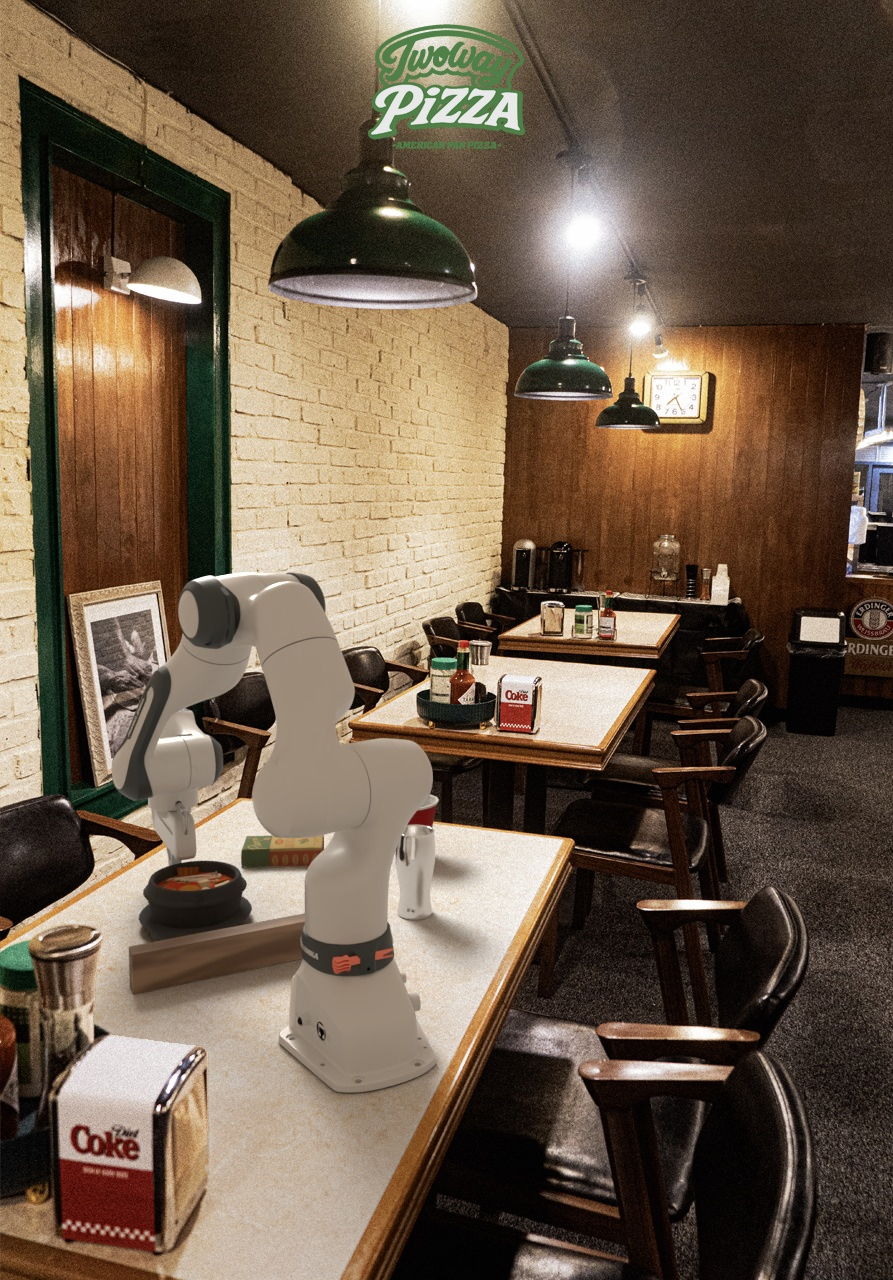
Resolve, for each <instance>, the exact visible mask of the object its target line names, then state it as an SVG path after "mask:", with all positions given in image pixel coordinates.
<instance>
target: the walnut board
mask: <svg viewBox="0 0 893 1280" xmlns="http://www.w3.org/2000/svg"><path fill="white" fill-rule="evenodd" d="M304 924H305V912H304V913H299V914H298V913H297V914H294V915H289V916H282V917H278V918H277V917H276V918H271V919H266V920H261V921H257V922H251V923H246V924H242V925H240V924H239V925H236V926H235V927H229V928H224V929H219V930H213V931H208V932H203V933H198V934H192V935H187V936H182V937H176V938H171V939H166V940H160V941H155V940H154V941H151V942H145V943H140V944H135V945H129V946H128V971H129V972H128V974H129V987H130V989H131V992H132V994H133V995H137V994H143V993H147V992H151V991H157V990H160V989H166V988H171V987H175V986H180V985H184V984H189V983H193V982H195V983H196V982H199V981H204V980H208V979H214V978H218V977H222V976H227V975H232V974H236V973H242V972H246V971H250V970H255V969H260V968H265V967H270V966H273V965H274V966H275V965H278V964H284V963H288V962H292V961H297V960H303V957H302V955H301V935H302V927H303V926H304Z"/></svg>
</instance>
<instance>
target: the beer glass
mask: <svg viewBox="0 0 893 1280" xmlns="http://www.w3.org/2000/svg"><path fill="white" fill-rule="evenodd" d="M435 838H436V837H435V829H434V828H433V827H429V826H426V825H407V826H406V828H405V830H404V832H403V834H402V836H401V838H400V841H399V843H398V846H397V848H396V851H395V854H394V856H395V858H394V859H395V867H396V873H397V881H398V885H399V900H398V901H399V902H398V906H397V914H398V916H399V917H401V918H402V919H406V920H409V921H420V920H426V919H427V918H430V917H431V916H432V914H433V908H432V903H431V902H432V901H431V887H432V881H433V877H434V876H433V875H434V871H435V867H436V866H435V865H436V839H435Z"/></svg>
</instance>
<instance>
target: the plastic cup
mask: <svg viewBox="0 0 893 1280" xmlns="http://www.w3.org/2000/svg"><path fill="white" fill-rule="evenodd" d="M439 800H440V799H439V798H438V796H435V795H433V794H430V795H429V797H428V799H427V800H426V802H425V803H424V804H423V805H422V806H421V807H420V808H419V809H418V810H417V811H416V813H415V814H414V815H413V817H412V818H411V819H410V821H409V823H408V824H407V825H426V826H429V827H432V828H433V827H434V822H435V821H434V819H435V815H436V811H437V805H438V803H439Z"/></svg>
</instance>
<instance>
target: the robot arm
mask: <svg viewBox="0 0 893 1280" xmlns="http://www.w3.org/2000/svg"><path fill="white" fill-rule="evenodd" d="M178 597H179V598H178V604H177V615H178V621H179V622H178V623H179V627H180V629H181V630H180V631H182V634H181V639H180V643H179V645H178V646H177V648H176V650H175V651H174V653H173V654H172V655H171V657H170V658H168V660H167V661H166V662H165V663H164V664H163V665H162V666H160V667H159V668H158V669H156V670H155V671H153V673H152V674H151V676H150V678H149V680H148V682H147V684H146V686H145V687H144V688H145V689H144V691H143V693H142V695H141V697H140V700H139V702H138V705H137V708H136V709H135V712H134V715H133V717H132V720H131V722H130V725H129V727H128V729H127V732H126V734H125V737H124V738H123V740H122V741H121V744H120V745H119V746H118V747H117V749H116V751H115V753H114V755H113V757H112V762H111V779H112V782H113V783H112V784H113V786H114V789H115V790H116V791H118V793H119V794H121V795H122V796H125V798H128V799H129V800H131V801H133V802H137V801H143V800H147V801H148V802H147V803H148V805H147V806H148V808H149V809H150V810H151V811H150V812H151V818H152V819H151V820H152V824H153V825H152V826H153V828H154V831H155V832H156V834H157V835H158V836H159V838H160V839H161V840H162V842H163V844H164V845H165V848H166V853H167V863H168V865H167V866H170V865H174V864H178V863H183V861H185V860H187V861H188V860H192V859H195V858H196V856H197V840H196V839H197V835H196V823H195V818H194V816H193V815H192V808H193V807H195V806H197V805H198V804H199V789H204V788H207V787H210V786H213V785H214V784H215V783H216V782H217V781H218V780H219V778H220V776H221V774H222V773H223V769H224V752H223V748H222V745H221V744H220V742H218V741H217V740H216V739H215V738H214V737H213V736H211V735H209V734H208V733H207V734H206V733H204V732H203V731H202V730H201V729H200V728H199V727H198V725H197V723H196V719H195V714H194V712H193V710H190V709H188V707H190V706H194V705H196V704H198V703H201V702H205V701H206V700H210V699H213V698H216V697H219V696H222V695H224V694H226V693H227V692H228V691H230V690H232V689H233V688H234V687H236V686H237V684H238V683H240V680H242V678H243V676H244V674H245V672H246V670H247V668H248V664H249V662H250V656H251V652H252V647H254V648H255V649H256V653H257V657H258V661H259V663H260V666H261V670H262V672H263V676H264V679H265V682H266V685H267V689H268V692H269V694H270V695H269V696H270V699H271V703H272V706H273V710H274V714H275V720H276V722H275V723H276V734H275V735H276V736H275V741H274V746H273V749H272V751H271V754H270V755H269V757H268V758H267V760H266V762H265V763H264V764H263V765H262V767H261V768H260V769H259V771H258V773H257V775H256V778H255V780H254V783H253V786H252V791H251V792H252V793H251V794H252V795H251V798H252V800H251V801H252V806H253V811H254V813H255V816H256V818H257V820H258V821H259V823H260V825H261V826H262V827H263V828H264V829H265V831H267V832H268V833H269V834H271V835H270V836H275V837H277V838H312V837H316V836H321V835H324V836H325V835H328V834H332V833H333V836H332V837H331V839H330V840H329V842H328V844H327V845H326V846H325V847H324V850H323V851H322V852H321V853H320V854H319V855H318V856H317V857H316V858H315V859H314V860H313V861H312V862H311V864H310V865H309V866H307V870H306V872H305V877H304V913H305V924H304V926H303V927H302V935H301V955H302V957H303V959H301V962H300V964H299V967H298V969H297V970H296V971H295V973H294V974H293V976H292V978H291V981H290V982H291V983H290V997H289V1014H288V1016H289V1017H288V1025H287V1026H284V1028H283V1029H282V1030H280V1032H279V1033H278V1044H280V1045H281V1046H282V1047H283V1048H284V1049H285V1050H286V1051H287V1052H289V1054H291V1055H292V1056H293V1057H294V1058H296V1060H298V1061H299V1062H300V1063H301V1064H303V1066H305V1067H306V1068H307V1069H309V1071H311V1072H312V1073H313V1074H314V1075H315V1076H316V1077H318V1078H319V1079H320V1080H321V1081H322V1082H324V1083H325V1084H326V1085H327V1086H328V1087H329V1088H330V1089H331V1090H333V1091H334V1092H338V1093H363V1092H371V1091H376V1090H380V1089H385V1088H389V1087H392V1086H396V1085H398V1084H402V1083H405V1082H408V1081H410V1080H413V1079H416V1078H418V1077H420V1076H422V1075H424V1074H425V1073H427V1072H429V1071H430V1070H431V1069H432V1068H433V1067H434V1066H436V1064H437V1060H436V1054H435V1052H434V1050H433V1048H432V1046H431V1044H430V1042H429V1039H428V1038H427V1037H426V1035H425V1033H424V1031H423V1029H422V1027H421V1025H420V1023H419V1021H418V1019H417V1016H416V1015H417V1014H416V1012H419V1011H420V1010H421V1005H422V1004H421V1003H422V1002H421V997H420V994H419V993H418V992H411V993H409V992H408V990H407V986H406V983H407V975H406V973H405V972H400V969H399V967H398V964H397V962H396V959H395V950H394V938H393V933H392V930H391V925H390V923H389V921H388V918H389V917H388V913H389V911H388V910H389V909H388V907H389V890H390V889H389V888H390V887H389V885H390V875H391V870H392V869H391V868H392V865H393V860H394V856H395V851H396V848H397V846H398V843H399V841H400V838H401V836H402V834H403V832H404V830H405V828H406V826H407V824H408V823H409V821H410V819H411V818H412V817H413V815H414V814H415V813H416V811H417V810H418V809H419V808H420V807H421V806H422V805H423V804H424V803H425V802H426V800H427V799H428V797H429V795H431V791H432V788H433V782H434V779H433V777H434V776H433V774H434V773H433V768H432V764H431V761H430V759H429V758H428V757H429V756H428V755H427V753H426V752H425V751H424V750H423V748H422V747H421V746H420V745H419V744H418V743H417V742H415V741H413V740H409V739H400V738H386V737H383V738H382V737H381V738H380V737H379V738H374V739H368V740H360V741H355V742H350V743H345V744H343V743H341V742H340V740H339V738H338V734H337V728H336V724H337V722H338V721H340V719H342V718H343V717H344V716H345V714H346V713H347V712H348V711H349V710H350V708H351V706H352V704H353V702H354V698H355V694H356V690H355V685H354V681H353V679H352V676H351V673H350V670H349V667H348V665H347V662H346V660H345V657H344V654H343V652H342V648H341V646H340V644H339V641H338V638H337V636H336V634H335V631H334V629H333V626H332V624H331V622H330V621H329V618H328V616H327V613H326V609H327V607H326V598H325V595H324V592H323V590H322V588H321V586H320V584H319V583H318V582H317V580H316V579H314V578H313V577H312V576H310V575H307V574H304V573H299V572H292V571H290V572H289V571H288V572H286V573H278V572H253V571H247V572H235V573H228V574H223V575H218V576H217V575H216V576H214V575H206V576H202V577H199V578H195V579H192V580H190V581H188V582H187V583H186V584H185V585H184V587H183V588H182V591H181V592H180V594H179V596H178Z"/></svg>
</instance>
